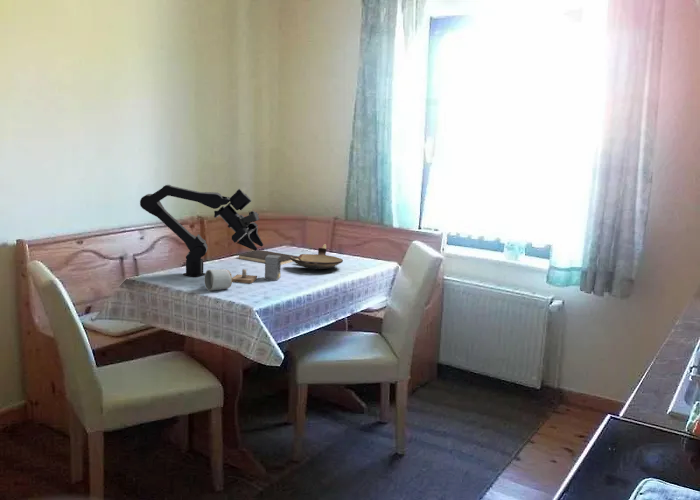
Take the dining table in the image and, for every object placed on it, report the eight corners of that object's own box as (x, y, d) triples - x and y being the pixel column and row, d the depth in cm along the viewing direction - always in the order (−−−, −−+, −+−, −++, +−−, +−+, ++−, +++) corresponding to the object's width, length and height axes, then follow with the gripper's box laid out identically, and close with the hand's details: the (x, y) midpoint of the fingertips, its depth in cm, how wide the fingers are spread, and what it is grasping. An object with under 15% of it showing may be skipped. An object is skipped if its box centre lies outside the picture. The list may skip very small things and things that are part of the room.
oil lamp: (278, 269, 283) (278, 251, 281) (316, 259, 309) (316, 242, 307) (323, 277, 272) (324, 258, 271) (359, 265, 298) (359, 248, 297)
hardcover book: (278, 266, 291) (278, 261, 290) (237, 259, 302) (237, 254, 302) (300, 261, 304) (300, 256, 304) (260, 254, 316) (260, 249, 315)
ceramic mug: (233, 290, 245) (233, 269, 244) (213, 292, 240) (212, 271, 239) (219, 284, 254) (219, 264, 252) (199, 287, 249) (199, 266, 247)
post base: (231, 281, 258) (231, 271, 257) (237, 277, 265) (237, 266, 265) (251, 283, 257) (251, 272, 256) (256, 278, 264) (257, 268, 264)
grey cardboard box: (264, 279, 264) (264, 257, 262) (267, 276, 269) (267, 254, 267) (278, 280, 263) (278, 258, 261) (280, 277, 268) (281, 255, 266)
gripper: (239, 207, 253) (268, 238, 253) (253, 202, 271) (279, 230, 272) (219, 227, 255) (247, 257, 256) (234, 220, 273) (260, 248, 274)
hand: (259, 247), depth 264 cm, fingers open, 9 cm apart
